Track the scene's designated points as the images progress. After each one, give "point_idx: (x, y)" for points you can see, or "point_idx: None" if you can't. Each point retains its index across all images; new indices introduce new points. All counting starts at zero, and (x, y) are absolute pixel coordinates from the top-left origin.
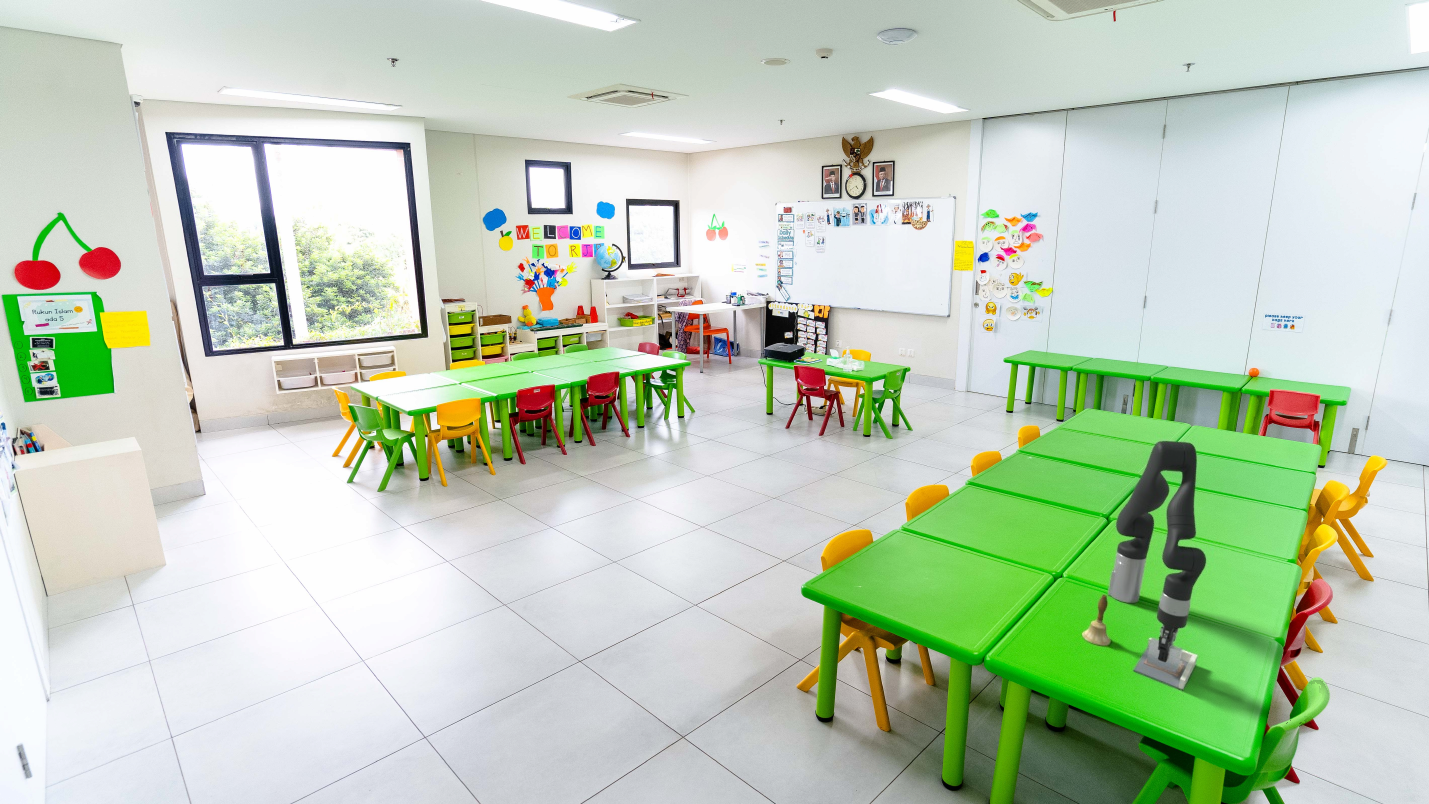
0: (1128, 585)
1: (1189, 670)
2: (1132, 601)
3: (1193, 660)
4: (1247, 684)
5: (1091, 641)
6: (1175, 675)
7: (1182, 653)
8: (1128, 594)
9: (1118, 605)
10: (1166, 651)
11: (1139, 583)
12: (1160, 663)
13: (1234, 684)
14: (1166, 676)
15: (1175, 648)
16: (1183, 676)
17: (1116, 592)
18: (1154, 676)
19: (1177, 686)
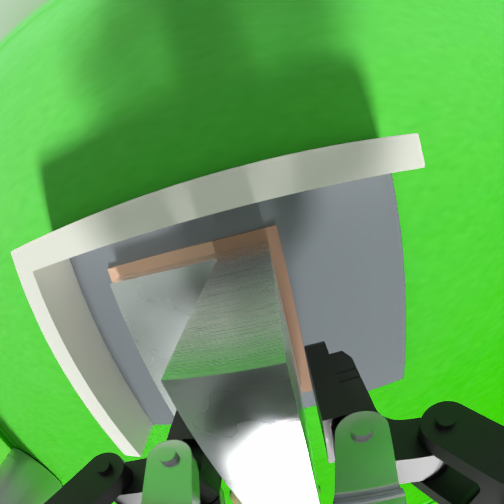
0: (28, 499)
1: (229, 173)
2: (31, 460)
3: (67, 234)
4: (31, 43)
5: (319, 494)
6: (279, 238)
7: (61, 317)
8: (34, 481)
9: (67, 478)
10: (470, 416)
11: (2, 485)
12: (292, 351)
13: (61, 51)
14: (338, 266)
15: (266, 430)
16: (372, 162)
17: (53, 493)
18: (393, 302)
19: (387, 174)
